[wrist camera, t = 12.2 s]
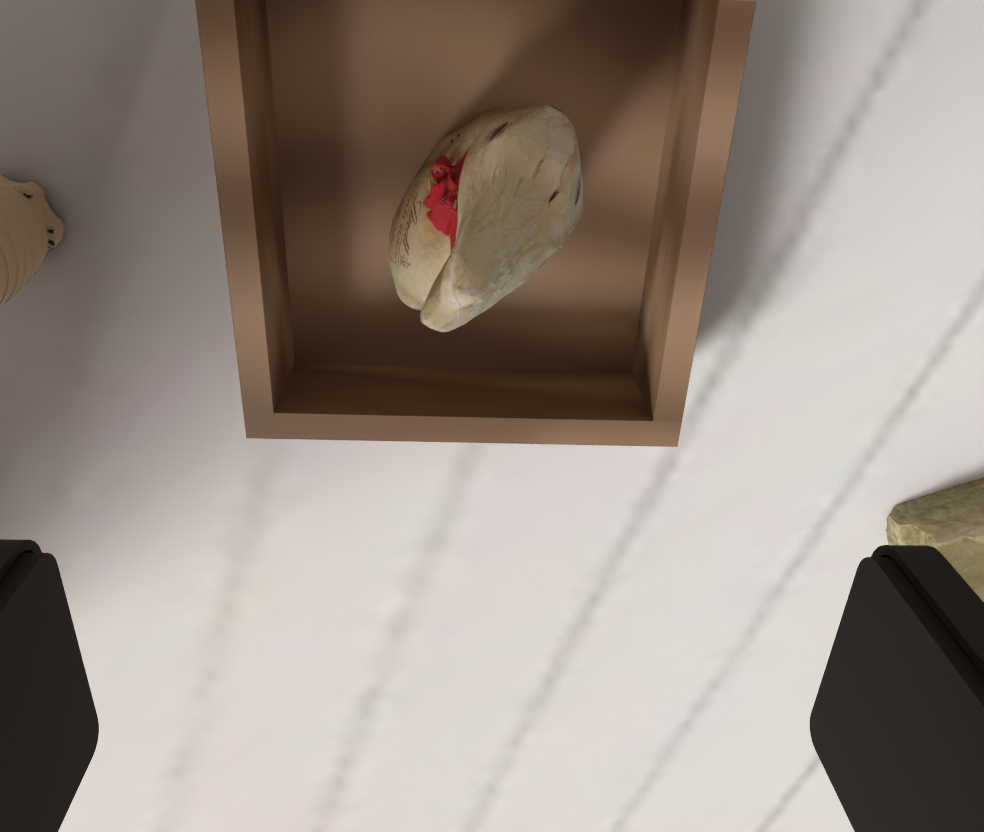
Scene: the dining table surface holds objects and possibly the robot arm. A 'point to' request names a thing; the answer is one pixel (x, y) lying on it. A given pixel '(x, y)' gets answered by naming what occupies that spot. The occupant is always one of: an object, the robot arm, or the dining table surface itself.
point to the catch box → (392, 167)
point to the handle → (24, 233)
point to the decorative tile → (946, 528)
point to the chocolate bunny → (485, 213)
